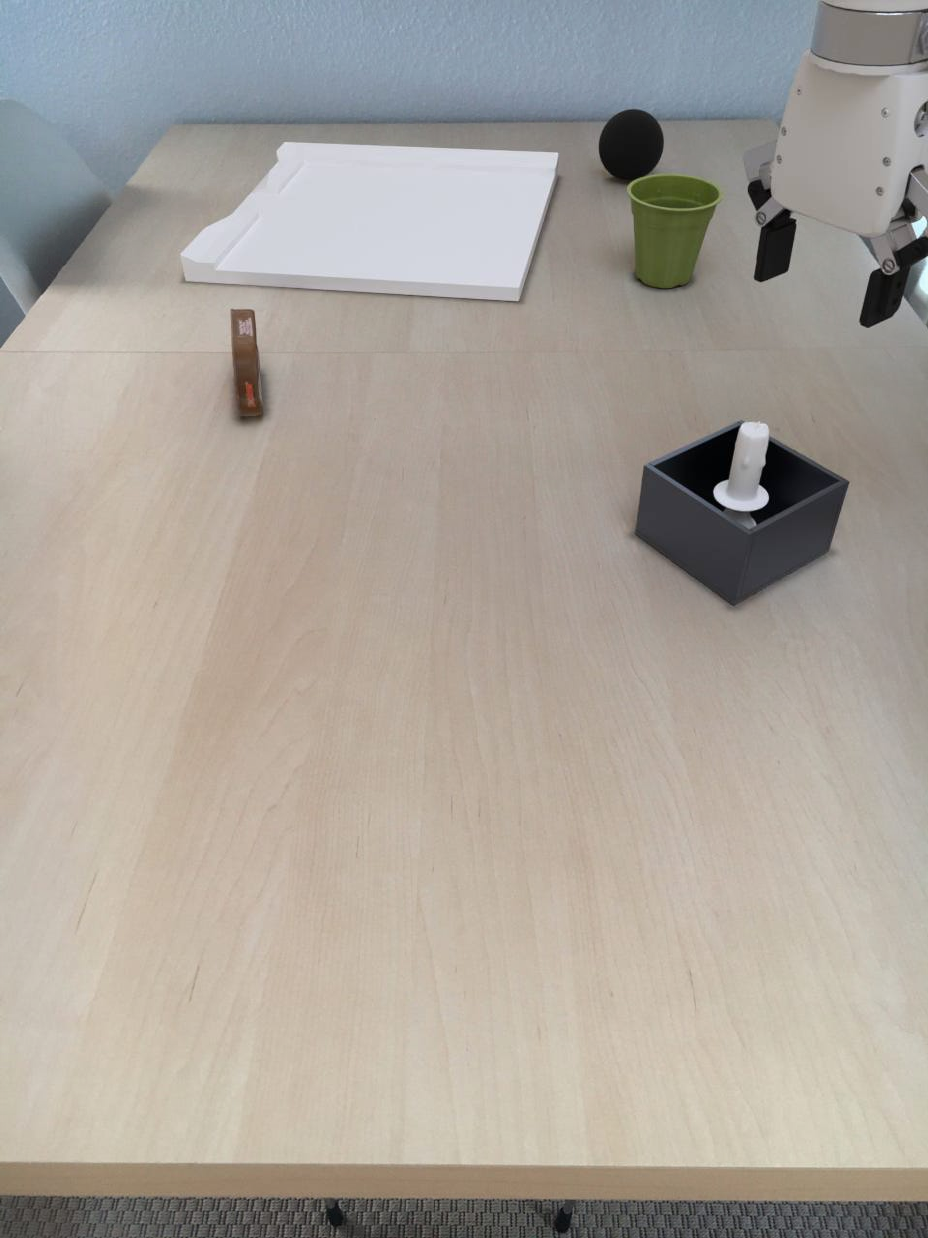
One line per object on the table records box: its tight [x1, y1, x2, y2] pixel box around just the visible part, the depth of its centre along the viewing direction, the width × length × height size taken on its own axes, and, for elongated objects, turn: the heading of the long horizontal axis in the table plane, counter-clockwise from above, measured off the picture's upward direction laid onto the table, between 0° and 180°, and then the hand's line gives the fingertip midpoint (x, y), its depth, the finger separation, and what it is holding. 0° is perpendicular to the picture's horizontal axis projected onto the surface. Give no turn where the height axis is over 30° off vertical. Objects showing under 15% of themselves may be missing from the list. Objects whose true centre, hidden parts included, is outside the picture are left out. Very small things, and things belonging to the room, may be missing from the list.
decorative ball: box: [598, 108, 665, 181], centre depth 154 cm, size 10×10×10 cm
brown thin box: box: [230, 308, 264, 418], centre depth 107 cm, size 15×3×8 cm, turn 10°
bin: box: [634, 419, 850, 606], centre depth 87 cm, size 12×12×8 cm
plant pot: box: [626, 173, 724, 289], centre depth 126 cm, size 12×12×11 cm
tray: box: [179, 141, 559, 302], centre depth 144 cm, size 45×45×4 cm
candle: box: [713, 420, 770, 529], centre depth 85 cm, size 5×5×12 cm
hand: (821, 297), depth 73 cm, fingers open, 9 cm apart
